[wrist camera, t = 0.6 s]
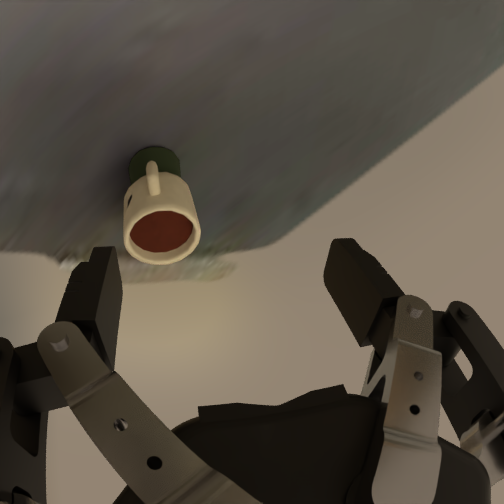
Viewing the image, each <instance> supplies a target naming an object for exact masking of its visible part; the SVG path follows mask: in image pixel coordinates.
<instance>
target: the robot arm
mask: <svg viewBox="0 0 504 504" xmlns="http://www.w3.org/2000/svg"><path fill="white" fill-rule="evenodd" d="M68 282H69V283H68V284H67V287H66V290H65V293H64V296H63V298H62V301H61V304H60V307H59V311H58V313H57V317H56V320H55V323H53V324H50V325H49V326H47V327H46V328H45V329H44V330H43V331H42V332H41V333H40V335H39V337H38V339H37V342H35V343H31V344H28V345H24V346H21V347H17V348H14V347H13V346H12V344H11V342H10V341H9V340H8V339H6V338H3V337H0V504H47V503H46V439H47V422H48V421H47V420H48V411H50V410H54V409H58V408H62V407H66V406H69V407H70V409H71V410H72V412H73V413H74V415H75V416H76V418H77V419H78V421H79V422H80V424H81V425H82V427H83V428H84V430H85V431H86V433H87V434H88V435H89V437H90V438H91V440H92V441H93V442H94V444H95V445H96V446H97V448H98V449H99V450H100V452H101V453H102V454H103V456H104V457H105V458H106V459H107V461H108V462H109V463H110V464H111V466H112V467H113V468H114V469H115V471H116V472H117V473H118V474H119V475H120V477H121V478H122V479H123V480H124V481H125V482H126V484H127V486H126V487H125V488H124V490H123V491H122V492H121V494H120V495H119V496H118V497H117V499H116V500H115V501H114V503H113V504H491V486H493V485H494V484H495V483H497V482H498V481H500V480H502V479H503V478H504V349H503V348H502V347H501V345H500V344H499V342H498V341H497V339H496V338H495V337H494V335H493V334H492V333H491V331H490V330H489V329H488V327H487V326H486V325H485V323H484V322H483V321H482V319H481V318H480V317H479V315H478V314H477V313H476V312H475V311H474V309H473V308H472V307H470V306H469V305H467V304H466V303H463V302H460V301H453V302H451V303H450V305H449V306H448V308H447V310H446V312H443V311H434V310H432V309H431V307H430V306H429V305H428V304H427V303H426V302H425V301H424V300H422V299H420V298H419V297H416V296H413V295H405V294H404V292H403V291H402V290H401V289H400V287H399V286H398V285H397V284H396V283H395V281H394V280H393V279H392V277H391V276H390V275H389V274H387V271H386V270H385V269H384V268H383V267H382V265H381V264H380V263H379V262H378V261H377V260H376V258H375V257H374V256H372V255H371V254H369V253H368V252H366V251H365V250H363V249H362V248H361V247H360V246H359V244H358V243H357V242H356V241H355V240H354V239H353V238H340V239H334V240H333V241H332V243H331V246H330V250H329V254H328V258H327V262H326V266H325V269H324V283H325V286H326V288H327V290H328V292H329V293H330V295H331V296H332V298H333V300H334V302H335V304H336V305H337V307H338V309H339V310H340V312H341V314H342V316H343V317H344V319H345V321H346V323H347V324H348V326H349V328H350V330H351V331H352V333H353V335H354V337H355V339H356V340H357V342H358V344H359V346H360V347H364V346H369V345H373V347H374V349H373V351H372V353H371V356H370V361H369V365H368V369H367V373H366V377H365V381H364V385H363V388H362V392H361V394H360V395H357V394H347V392H346V390H345V387H344V385H343V384H342V385H337V386H333V387H328V388H323V389H319V390H314V391H310V392H308V393H306V394H304V395H301V396H299V397H297V398H295V399H293V400H290V401H288V402H286V403H284V404H281V405H277V406H269V405H256V404H243V403H230V404H221V405H210V406H198V413H199V417H196V418H193V419H190V420H188V421H186V422H183V423H181V424H180V425H178V426H176V427H175V428H173V429H172V430H169V429H168V428H167V427H166V426H165V425H164V424H163V422H162V421H161V420H160V419H159V418H158V417H157V416H156V415H155V414H154V413H153V412H152V411H151V410H150V409H149V408H148V407H147V406H146V405H145V403H144V402H142V400H141V399H140V398H139V397H138V396H137V395H136V393H135V392H134V391H133V390H132V389H131V388H130V387H129V385H128V384H127V383H126V382H125V381H124V380H123V378H122V377H121V376H120V375H119V374H118V373H117V372H115V371H114V365H115V355H116V345H117V335H118V327H119V319H120V311H121V303H122V294H123V290H122V281H121V276H120V270H119V265H118V259H117V253H116V249H115V247H114V246H110V247H94V248H93V251H92V253H91V256H90V259H89V262H80V264H79V265H78V266H77V267H76V268H75V269H74V270H73V271H72V273H71V276H70V278H69V281H68ZM460 349H462V351H463V352H464V354H465V355H466V357H467V358H468V360H469V361H470V363H471V365H472V368H473V374H472V377H471V378H470V379H469V381H467V379H466V377H465V376H464V374H463V372H462V371H461V369H460V368H459V366H458V364H457V363H456V361H455V359H454V357H455V356H456V355H457V353H458V352H459V351H460ZM440 403H441V405H442V406H443V408H444V410H445V412H446V414H447V416H448V418H449V420H450V422H451V424H452V426H453V428H454V430H455V432H456V434H457V436H458V438H459V441H460V448H459V447H458V446H456V445H454V444H452V443H450V442H448V441H446V440H444V439H443V438H441V437H439V436H438V427H439V416H440Z"/></svg>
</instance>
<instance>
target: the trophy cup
mask: <svg viewBox="0 0 504 504" xmlns="http://www.w3.org/2000/svg"><path fill="white" fill-rule="evenodd" d="M129 176H130V181H131V186H130V187H129V188H128V190H127V192H126V195H125V197H124V244H125V247H126V249H127V251H128V252H129V253H130V254H131V256H132V257H134V258H136V259H138V260H139V261H141V262H144V263H148V264H152V265H168V264H171V263H174V262H177V261H180V260H182V259H183V258H185V257H186V256H188V255H189V254H190V253H192V252H193V250H194V249H195V247H196V246H197V245H198V243H199V239H200V234H201V229H200V225H199V221H198V218H197V214H196V210H195V207H194V203H193V199H192V196H191V193H190V190H189V187H188V185H187V183H186V182H184V181H183V180H182V179H181V175H180V163H179V159H178V158H177V156H176V155H175V154H174V152H172V151H170V150H168V149H166V148H163V147H150V148H147V149H143V150H140V151H139V152H138V153H137V154H136V155H135V156H134V157H133V158H132V160H131V163H130V165H129Z"/></svg>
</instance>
